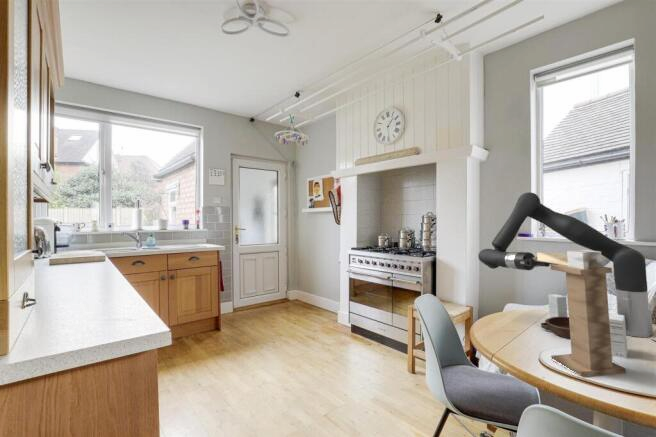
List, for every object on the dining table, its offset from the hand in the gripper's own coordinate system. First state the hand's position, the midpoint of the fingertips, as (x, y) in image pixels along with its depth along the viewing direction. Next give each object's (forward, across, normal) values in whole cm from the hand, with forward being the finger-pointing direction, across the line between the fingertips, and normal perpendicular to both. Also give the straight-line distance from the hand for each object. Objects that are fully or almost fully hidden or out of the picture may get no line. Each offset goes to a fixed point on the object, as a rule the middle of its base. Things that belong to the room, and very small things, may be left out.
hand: (557, 263), depth 123 cm
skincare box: (-18, +23, +29) cm, 41 cm away
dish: (-5, +13, +30) cm, 33 cm away
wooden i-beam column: (+15, -11, +31) cm, 36 cm away
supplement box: (+12, +8, +31) cm, 34 cm away
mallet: (+10, -11, -1) cm, 15 cm away
